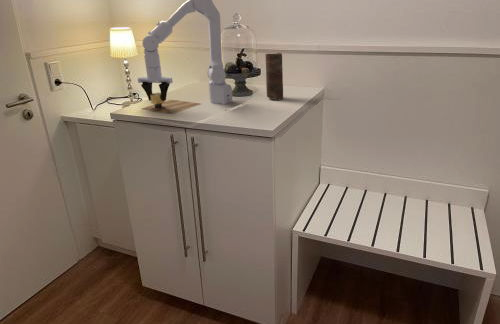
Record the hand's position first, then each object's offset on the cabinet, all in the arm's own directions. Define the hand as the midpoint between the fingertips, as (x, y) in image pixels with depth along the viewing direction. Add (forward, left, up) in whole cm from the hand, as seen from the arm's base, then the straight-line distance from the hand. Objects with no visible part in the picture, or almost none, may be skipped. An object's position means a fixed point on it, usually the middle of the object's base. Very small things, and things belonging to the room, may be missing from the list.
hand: (157, 100), depth 156 cm
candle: (-35, -37, -4) cm, 51 cm away
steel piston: (0, 0, -4) cm, 4 cm away
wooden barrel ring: (0, 0, -1) cm, 1 cm away
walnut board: (-4, -3, -4) cm, 7 cm away
